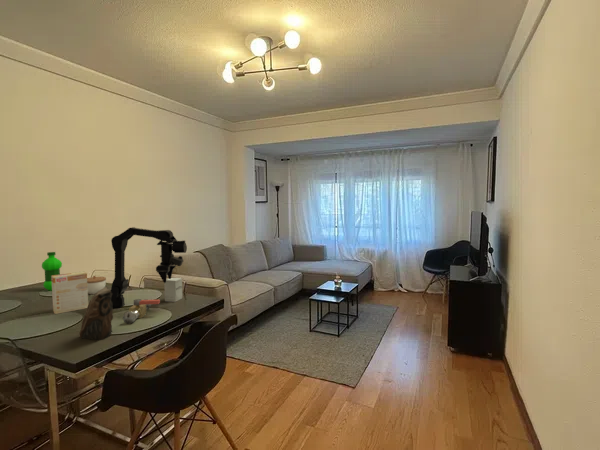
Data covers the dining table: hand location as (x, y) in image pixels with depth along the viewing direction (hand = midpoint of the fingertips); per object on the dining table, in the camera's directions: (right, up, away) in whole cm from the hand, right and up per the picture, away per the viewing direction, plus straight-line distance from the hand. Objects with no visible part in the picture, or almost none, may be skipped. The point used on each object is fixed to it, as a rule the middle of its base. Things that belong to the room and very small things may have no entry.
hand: (167, 280), depth 180 cm
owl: (-14, -17, -40) cm, 45 cm away
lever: (-4, -9, -16) cm, 19 cm away
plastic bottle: (-91, -12, +35) cm, 98 cm away
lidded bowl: (-58, -13, +27) cm, 65 cm away
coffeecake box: (-50, -15, -6) cm, 52 cm away
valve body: (-8, -15, -16) cm, 24 cm away
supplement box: (-1, -14, +12) cm, 18 cm away
